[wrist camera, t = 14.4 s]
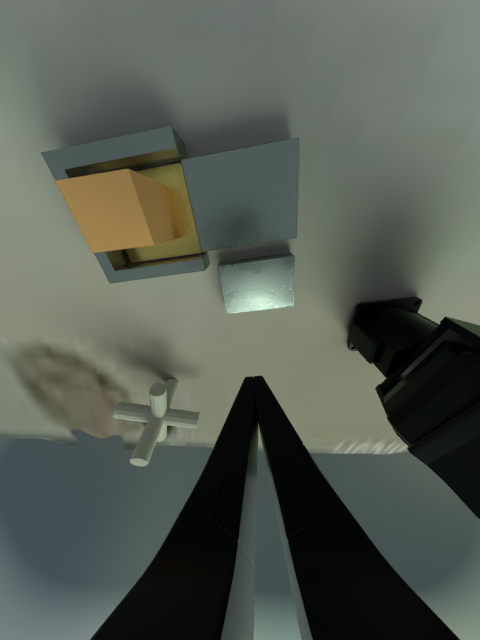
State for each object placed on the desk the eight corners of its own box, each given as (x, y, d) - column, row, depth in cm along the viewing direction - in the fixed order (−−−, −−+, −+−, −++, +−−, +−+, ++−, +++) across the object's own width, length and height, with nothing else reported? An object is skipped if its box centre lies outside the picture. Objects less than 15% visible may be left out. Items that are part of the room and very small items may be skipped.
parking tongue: (290, 253, 17) (294, 255, 15) (290, 300, 19) (293, 306, 18) (219, 262, 17) (217, 266, 16) (228, 307, 20) (226, 313, 18)
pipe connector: (136, 352, 23) (73, 430, 15) (209, 364, 24) (190, 444, 16) (141, 398, 28) (97, 476, 20) (202, 406, 29) (185, 485, 21)
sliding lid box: (292, 119, 12) (302, 98, 10) (290, 253, 17) (297, 258, 15) (73, 163, 14) (41, 152, 11) (125, 275, 18) (109, 283, 16)
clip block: (128, 168, 10) (54, 180, 10) (154, 245, 12) (92, 253, 12) (163, 184, 14) (111, 192, 14) (178, 238, 16) (132, 244, 16)
